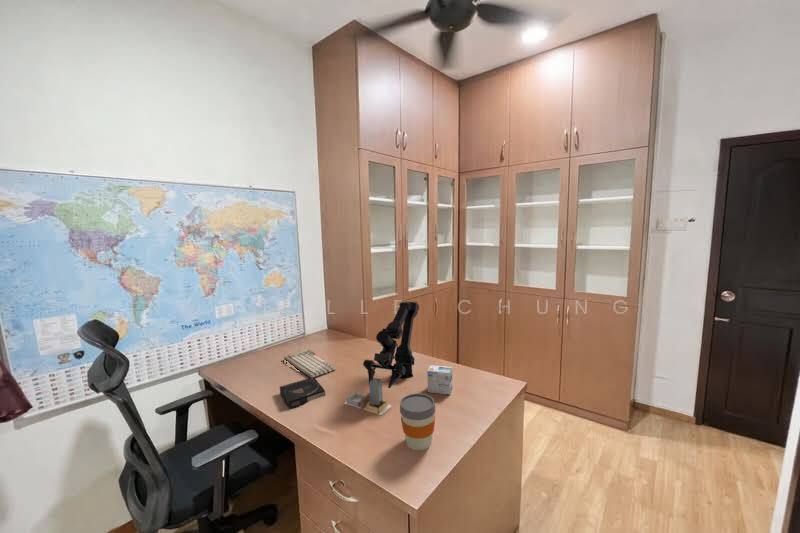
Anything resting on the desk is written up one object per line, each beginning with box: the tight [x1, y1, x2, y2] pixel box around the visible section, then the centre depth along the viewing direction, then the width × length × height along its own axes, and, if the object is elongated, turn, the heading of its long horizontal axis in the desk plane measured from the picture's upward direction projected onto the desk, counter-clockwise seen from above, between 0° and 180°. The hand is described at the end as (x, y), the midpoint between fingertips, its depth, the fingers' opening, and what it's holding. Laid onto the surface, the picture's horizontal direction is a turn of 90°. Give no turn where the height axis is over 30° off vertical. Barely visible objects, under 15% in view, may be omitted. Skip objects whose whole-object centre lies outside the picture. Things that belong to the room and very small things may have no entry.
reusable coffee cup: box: [399, 393, 436, 451], centre depth 114 cm, size 13×13×15 cm
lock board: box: [344, 392, 392, 416], centre depth 139 cm, size 20×8×5 cm, turn 59°
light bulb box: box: [426, 364, 454, 396], centre depth 149 cm, size 11×7×11 cm, turn 71°
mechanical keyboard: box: [283, 348, 336, 379], centre depth 185 cm, size 38×19×3 cm, turn 43°
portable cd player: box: [279, 377, 326, 410], centre depth 151 cm, size 16×17×4 cm
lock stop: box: [368, 377, 384, 408], centre depth 135 cm, size 4×4×12 cm
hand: (379, 386), depth 138 cm, fingers open, 9 cm apart
